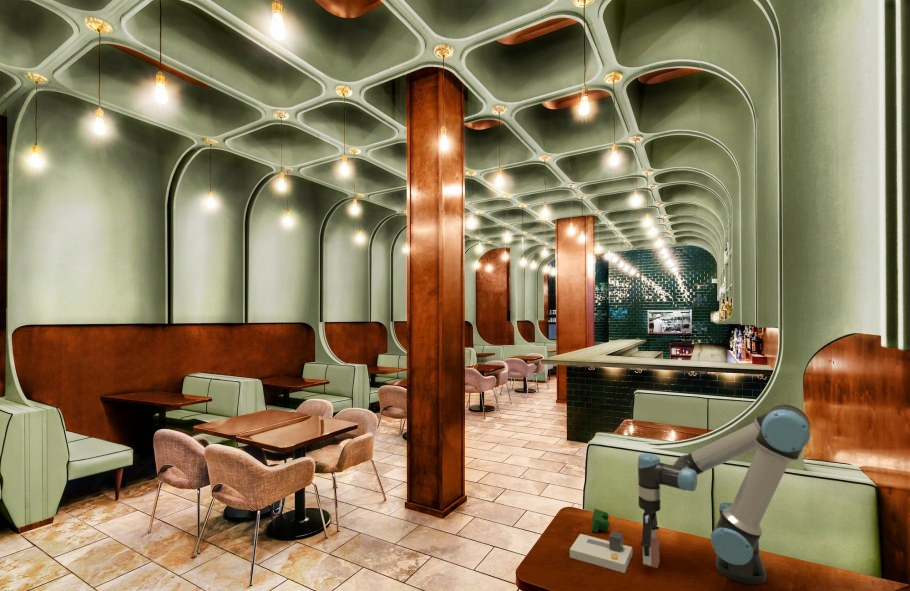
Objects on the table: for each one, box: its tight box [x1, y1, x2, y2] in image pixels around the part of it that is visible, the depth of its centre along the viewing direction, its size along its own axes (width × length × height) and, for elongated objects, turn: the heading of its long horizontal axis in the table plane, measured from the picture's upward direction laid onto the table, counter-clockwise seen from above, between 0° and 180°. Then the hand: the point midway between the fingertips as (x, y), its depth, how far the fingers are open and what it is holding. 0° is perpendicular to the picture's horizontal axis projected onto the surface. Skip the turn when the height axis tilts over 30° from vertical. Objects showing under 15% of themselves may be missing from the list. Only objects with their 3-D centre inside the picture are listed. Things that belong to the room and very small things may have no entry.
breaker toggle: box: [608, 530, 624, 552], centre depth 169 cm, size 4×5×5 cm
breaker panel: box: [569, 533, 633, 574], centre depth 169 cm, size 20×14×4 cm
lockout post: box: [641, 538, 661, 569], centre depth 164 cm, size 5×5×8 cm
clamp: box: [591, 508, 610, 533], centre depth 191 cm, size 12×6×9 cm, turn 158°
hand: (650, 555), depth 164 cm, fingers open, 13 cm apart
